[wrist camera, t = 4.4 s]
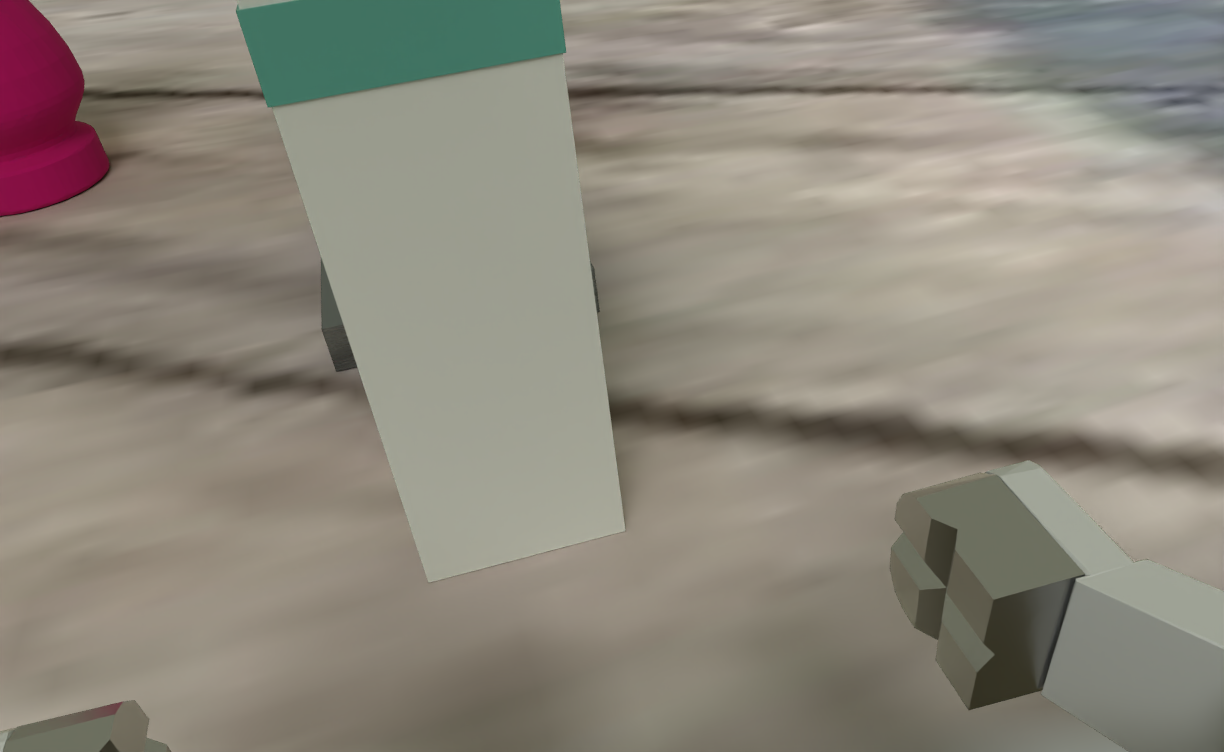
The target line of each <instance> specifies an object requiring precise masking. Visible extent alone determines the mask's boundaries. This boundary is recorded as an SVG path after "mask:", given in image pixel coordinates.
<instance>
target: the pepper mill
mask: <svg viewBox="0 0 1224 752" xmlns="http://www.w3.org/2000/svg"><path fill="white" fill-rule="evenodd" d="M83 92H84V78H83V74H82V70H81V68H80V67H79V65H78V63H77V61H76V59H75V58H74V56H73V54H72V52H71V50H70V49H69V47H68V46H67V44H66V43H65V41H64V40H63V39H62V38H61V36H60V35H59V34H58V32H57V31H56V30H55V28H54V27H53V26H52V24H51V23H50V22H49V21H48V20H47V19H46V18H45V17H44V16H43V15H42V14H41V13H40V12H39V11H38V10H37V9H36V8H35V7H34V6H33V5H32V3H31V2H30V1H29V0H0V216H3V215H13V214H19V213H24V212H28V211H32V210H35V209H39V208H43V207H46V206H50V205H53V204H55V203H58V202H61V201H63V200H66V199H68V198H71V197H73V196H75V195H77V194H79V193H81V192H83V191H85V190H87V189H88V188H90V187H91V186H92V185H94V184H95V183H97V182H98V181H99V180H100V179H102V178H103V176H104V175H105V174H106V172H107V171H108V169H109V160H108V158H107V155H106V153H105V151H104V149H103V147H102V144H101V142H100V140H99V138H98V136H97V133H96V131H95V129H94V128H93V127H92V126H90V125H88V124H86V123H83V122H79V121H75V118H76V114H77V111H78V108H79V105H80V102H81V100H82V96H83Z"/></svg>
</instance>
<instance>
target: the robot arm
mask: <svg viewBox="0 0 1224 752" xmlns="http://www.w3.org/2000/svg"><path fill="white" fill-rule="evenodd" d="M895 521H896V522H897V524H898V525H899V526H900V528H901V529H902V531H903V534H902V535H901V536H900V537H899V539H898V540H897V541H896V542H895V543H894V545H893V546H892V547H891V558H890V572H891V576H892V581H893V585H894V590H895V593H896V595H897V597H898V600H899V602H900V604H901V606H902V609H903V610H904V612H905V614H906V615H907V617H908V618H909V620H910V622H911V623H912V625H913V626H914V628H916V629H918V630H920V631H922V632H923V633H925V634H927V635H929V636H931V637H933V638H935V639H937V640H938V643H937V651H936V662H937V663H938V665H939V666H940V668H941V669H942V671H943V672H944V674H945V675H946V677H947V678H948V680H949V681H950V683H951V684H952V686H953V687H954V689H955V690H956V692H957V694H958V695H959V697H960V698H961V700H962V701H963V703H964V704H965V706H966V707H967V709H968V710H972V709H975V708H979V707H983V706H986V705H990V704H994V703H997V702H1001V701H1005V700H1008V699H1012V698H1016V697H1019V696H1023V695H1027V694H1030V693H1034V692H1038V691H1041V690H1042V693H1041V695H1042V696H1044V697H1045V698H1047V699H1048V700H1050V701H1052V702H1053V703H1055V704H1056V705H1058V706H1059V707H1061V708H1062V709H1064V710H1065V711H1067V712H1068V713H1070V714H1072V715H1073V716H1075V717H1076V718H1078V719H1079V720H1081V721H1082V722H1084V723H1085V724H1087V725H1088V726H1090V727H1092V728H1093V729H1095V730H1096V731H1098V732H1099V733H1101V734H1102V735H1104V736H1105V737H1107V738H1108V739H1110V740H1112V741H1113V742H1115V743H1116V744H1118V745H1119V746H1121V747H1122V748H1124V749H1125V750H1127V751H1129V752H1224V591H1222V590H1220V589H1217V588H1215V587H1212V586H1210V585H1208V584H1205V583H1203V582H1200V581H1198V580H1196V579H1193V578H1191V577H1188V576H1186V575H1184V574H1181V573H1179V572H1176V571H1174V570H1172V569H1169V568H1167V567H1164V566H1162V565H1160V564H1157V563H1155V562H1152V561H1150V560H1148V559H1145V560H1141V561H1136V562H1133V561H1132V560H1131V559H1130V558H1129V557H1128V556H1127V555H1126V553H1125V552H1124V551H1123V550H1122V549H1121V548H1120V547H1119V546H1118V545H1117V544H1116V543H1115V542H1114V541H1113V540H1112V539H1111V538H1110V537H1109V536H1108V535H1107V534H1106V533H1105V532H1104V531H1103V530H1102V529H1101V528H1100V527H1099V526H1098V525H1097V524H1096V523H1095V522H1094V521H1093V520H1092V519H1091V517H1090V516H1089V515H1088V514H1087V513H1086V512H1085V511H1084V510H1083V509H1082V508H1081V507H1080V506H1079V505H1078V504H1077V503H1076V502H1075V501H1074V500H1073V499H1072V498H1071V497H1070V496H1069V495H1068V494H1067V493H1066V492H1065V491H1064V490H1063V489H1062V488H1061V487H1060V486H1059V485H1058V484H1057V483H1056V481H1055V480H1054V479H1053V478H1052V477H1051V476H1050V475H1049V474H1048V473H1047V472H1046V471H1045V470H1044V469H1043V468H1042V467H1041V466H1040V465H1038V464H1036V463H1033V462H1031V461H1029V460H1028V461H1024V462H1021V463H1017V464H1013V465H1009V466H1006V467H1002V468H998V469H994V470H990V471H987V472H985V473H977V474H973V475H970V476H966V477H962V478H959V479H955V480H952V481H948V482H944V483H941V484H937V485H934V486H930V487H926V488H923V489H919V490H916V491H912V492H908V493H905V494H903V495H902V496H901V498H900V499H899V501H898V502H897V505H896V513H895ZM148 724H149V718H148V717H147V716H146V714H145V713H144V712H143V710H142V709H141V708H140V706H139V705H138V704H137V703H136V701H135V700H131V701H124V702H120V703H115V704H111V705H107V706H103V707H99V708H94V709H90V710H86V711H82V712H78V713H74V714H69V715H65V716H61V717H57V718H53V719H48V720H44V721H40V722H36V723H32V724H27V725H23V726H19V727H17V728H13V729H9V730H5V731H1V732H0V752H171V750H170V749H169V747H168V746H167V745H166V744H163V743H160V742H157V741H154V740H152V739H149V738H146V736H147V730H148Z"/></svg>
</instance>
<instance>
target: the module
mask: <svg viewBox="0 0 1224 752" xmlns="http://www.w3.org/2000/svg"><path fill="white" fill-rule="evenodd" d="M237 3H238V5H237V9H236V13H237V16H238V19H239V22H240V25H241V28H242V31H243V34H244V37H245V40H246V43H247V46H248V49H249V52H250V55H251V58H252V61H253V64H254V67H255V70H256V73H257V76H258V79H259V82H260V85H261V88H262V91H263V94H264V97H265V100H266V103H267V106H268V107H272V109H273V112H274V115H275V118H276V121H277V124H278V127H279V130H280V133H281V136H282V140H283V143H284V146H285V149H286V152H287V155H288V158H289V161H290V164H291V167H292V170H293V173H294V176H295V179H296V182H297V185H298V188H299V191H300V194H301V197H302V200H303V203H304V206H305V209H306V212H307V215H308V218H309V222H310V225H311V228H312V231H313V234H314V237H315V240H316V243H317V246H318V249H319V252H320V255H321V258H322V261H323V264H324V267H325V270H326V273H327V276H328V279H329V282H330V285H331V288H332V291H333V294H334V297H335V300H336V303H337V307H338V310H339V313H340V316H341V319H342V322H343V325H344V328H345V331H346V334H347V337H348V340H349V343H350V346H351V349H352V352H353V355H354V358H355V361H356V364H357V367H358V370H359V373H360V376H361V379H362V382H363V385H364V389H365V392H366V395H367V398H368V401H369V404H370V407H371V410H372V413H373V416H374V419H375V422H376V425H377V428H378V431H379V434H380V437H381V440H382V443H383V446H384V449H385V452H386V455H387V458H388V461H389V464H390V467H391V471H392V474H393V477H394V480H395V483H396V486H397V489H398V492H399V495H400V498H401V501H402V504H403V507H404V510H405V513H406V516H407V519H408V522H409V525H410V528H411V531H412V534H413V537H414V540H415V543H416V546H417V549H418V552H419V556H420V559H421V562H422V565H423V568H424V571H425V574H426V577H427V580H428V583H430V582H434V581H437V580H441V579H445V578H449V577H453V576H456V575H460V574H464V573H468V572H472V571H475V570H479V569H483V568H487V567H491V566H494V565H498V564H502V563H506V562H510V561H513V560H517V559H521V558H525V557H529V556H532V555H536V554H540V553H544V552H548V551H551V550H555V549H559V548H563V547H567V546H570V545H574V544H578V543H582V542H586V541H589V540H593V539H597V538H601V537H605V536H608V535H612V534H616V533H620V532H624V531H626V530H625V523H624V515H623V508H622V500H621V493H620V485H619V477H618V470H617V462H616V455H615V447H614V439H613V432H612V424H611V417H610V409H609V401H608V394H607V386H606V379H605V371H604V363H603V356H602V348H601V341H600V333H599V326H598V318H597V310H596V303H595V295H594V288H593V280H592V272H591V265H590V257H589V250H588V242H587V234H586V227H585V219H584V212H583V204H582V197H581V189H580V181H579V174H578V166H577V159H576V151H575V143H574V136H573V128H572V121H571V113H570V105H569V98H568V90H567V83H566V75H565V67H564V60H563V53H566V47H565V39H564V31H563V24H562V16H561V8H560V0H237Z"/></svg>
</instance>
